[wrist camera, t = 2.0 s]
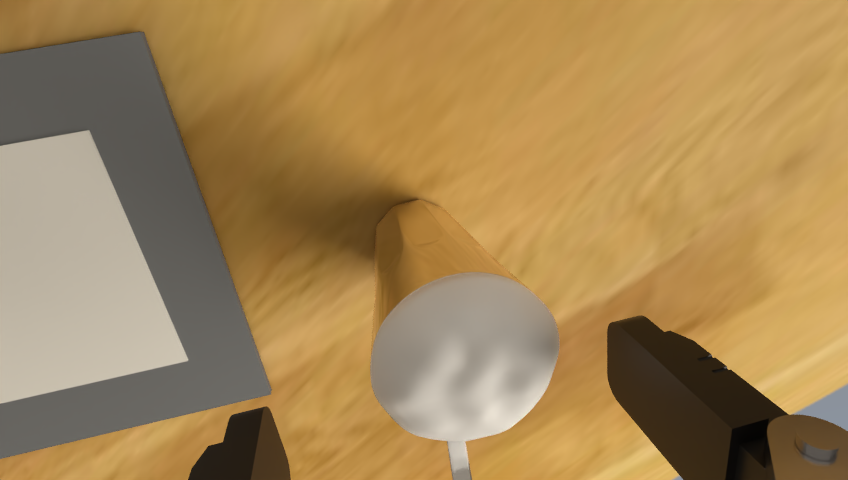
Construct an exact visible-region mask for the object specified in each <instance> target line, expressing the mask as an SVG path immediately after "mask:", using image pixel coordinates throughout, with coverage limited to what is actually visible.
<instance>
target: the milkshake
mask: <svg viewBox="0 0 848 480" xmlns="http://www.w3.org/2000/svg"><path fill="white" fill-rule="evenodd" d="M374 265H375V302H374V312H373V329H372V348H371V366H370V373H371V383H372V388H373V391H374V394H375V396H376V398H377V400H378V402H379V403H380V404H381V406H382V407H383V408H384V409H385V410H386V411H387V413H388V414H389V415H390V416H391V417H392V418H393V419H394V420H395V422H396V423H398V424H399V425H400V426H401V427H402V428H403V429H405V430H406V431H408V432H410V433H412V434H414V435H417V436H420V437H424V438H429V439H435V440H443V441H447V444H448V451H449V458H450V464H451V471H452V478H453V480H472V476H471V470H470V465H469V459H468V453H467V448H466V442H465V441H469V440H474V439H478V438H482V437H486V436H490V435H495V434H498V433H501V432H503V431H506V430H507V429H509V428H511V427H512V426H513V425H515V424H516V423H517V422H518V421H520V420H521V419H522V418H523V417H524V416H525V415H526V414H527V413H529V411H530V410H531V409H532V408H533V407H534V406H535V405H536V404H537V402H538V401H539V400H540V398H541V397H542V395H543V394H544V392H545V391H546V389H547V387H548V384H549V382H550V379H551V376H552V374H553V371H554V368H555V364H556V361H557V357H558V353H559V333H558V329H557V325H556V322H555V320H554V318H553V316H552V314H551V312H550V311H549V309H548V308H547V307H546V305H545V304H544V303H543V302H542V301H541V300H540V299H539V298H538V297H537V296H536V295H535V294H534V293H533V292H532V291H531V290H530V289H528V288H527V287H526V286H525V285H524V284H523V283H522V282H521V281H519V280H518V279H517V278H516V277H515V276H514V275H513V274H512V273H510V272H509V271H508V270H507V269H506V268H505V267H504V266H503V265H501V264H500V263H499V262H498V261H497V260H496V259H495V258H494V257H493V256H491V255H490V254H489V253H488V252H487V251H486V250H485V249H484V248H483V247H482V246H481V245H480V244H479V243H478V242H477V241H476V240H475V239H474V238H473V237H472V236H471V235H470V234H469V233H468V232H467V231H466V230H465V229H464V228H463V227H462V226H461V225H460V224H459V223H458V222H457V221H456V220H455V219H454V218H453V217H452V216H451V215H450V214H449V213H448V212H447V211H446V210H445V209H444V208H441V207H439V206H436V205H434V204H431V203H428V202H426V201H423V200H421V199H418V200H414V201H411V202H407V203H403V204H399V205H395V206H393V207H392V208H391V210H390V211H389V212H388V213H387V214H386V215H385V216H384V218H383V219H382V220H381V221H380V222H379V223H378V224H377V226H376V238H375V250H374Z"/></svg>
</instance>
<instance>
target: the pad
mask: <svg viewBox="0 0 848 480" xmlns="http://www.w3.org/2000/svg"><path fill="white" fill-rule="evenodd" d="M270 394H271V387H270V384H269V381H268V378H267V376H266V373H265V370H264V367H263V364H262V362H261V359H260V356H259V353H258V350H257V348H256V345H255V342H254V339H253V336H252V334H251V331H250V328H249V325H248V322H247V320H246V317H245V314H244V311H243V308H242V306H241V303H240V300H239V297H238V294H237V292H236V289H235V286H234V283H233V280H232V278H231V275H230V272H229V269H228V267H227V264H226V261H225V258H224V255H223V253H222V250H221V247H220V244H219V241H218V239H217V236H216V233H215V230H214V227H213V225H212V222H211V219H210V216H209V213H208V211H207V208H206V205H205V202H204V199H203V197H202V194H201V191H200V188H199V185H198V183H197V180H196V177H195V174H194V171H193V169H192V166H191V163H190V160H189V157H188V155H187V152H186V149H185V146H184V143H183V141H182V138H181V135H180V132H179V129H178V127H177V124H176V121H175V118H174V115H173V113H172V110H171V107H170V104H169V101H168V99H167V96H166V93H165V90H164V87H163V85H162V82H161V79H160V76H159V74H158V71H157V68H156V65H155V62H154V60H153V57H152V54H151V51H150V48H149V46H148V43H147V40H146V37H145V34H144V32H135V33H129V34H123V35H116V36H110V37H104V38H98V39H91V40H85V41H79V42H73V43H66V44H60V45H54V46H48V47H42V48H35V49H29V50H23V51H17V52H10V53H4V54H0V459H1V458H6V457H10V456H14V455H18V454H22V453H27V452H31V451H35V450H39V449H43V448H48V447H52V446H56V445H60V444H64V443H69V442H73V441H77V440H81V439H85V438H90V437H94V436H98V435H102V434H106V433H111V432H115V431H119V430H123V429H127V428H132V427H136V426H140V425H144V424H149V423H153V422H157V421H161V420H165V419H170V418H174V417H178V416H182V415H186V414H191V413H195V412H199V411H203V410H207V409H212V408H216V407H220V406H224V405H228V404H233V403H237V402H241V401H245V400H249V399H254V398H258V397H262V396H266V395H270Z"/></svg>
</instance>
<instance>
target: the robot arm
mask: <svg viewBox="0 0 848 480" xmlns="http://www.w3.org/2000/svg"><path fill="white" fill-rule="evenodd" d="M607 374H608V381H609V385H610V388H611V390H612V393H613V395H614V396H615V398H616V400H617V401H618V402H619V404H620V405H621V406H622V407H623V408H624V410H625V411H626V412H627V413H628V414H629V415H630V417H631V418H632V419H633V420H634V421H635V423H636V424H637V425H638V426H639V427H640V429H641V430H642V431H643V432H644V433H645V435H646V436H647V437H648V438H649V439H650V440H651V442H652V443H653V444H654V445H655V446H656V448H657V449H658V450H659V451H660V452H661V454H662V455H663V456H664V457H665V458H666V459H667V461H668V462H669V463H670V464H671V465H672V467H673V468H674V469H675V470H676V471H677V473H678V474H679V475H680V476H681V477H682V478H683V480H848V431H846V430H844V429H843V428H841V427H839V426H837V425H835V424H833V423H830V422H828V421H825V420H822V419H819V418H816V417H811V416H806V415H788V414H787V413H786V412H785V411H783V410H782V409H781V408H779V407H778V406H777V405H776V404H774V403H773V402H772V401H770V400H769V399H768V398H767V397H765V396H764V395H763V394H761V393H760V392H759V391H758V390H756V389H755V388H754V387H752V386H751V385H750V384H749V383H747V382H746V381H745V380H743V379H742V378H741V377H740V376H738V375H737V374H736V373H734V372H733V371H732V370H728V369H727V366H725V365H724V364H723V363H722V362H720V361H719V360H718V359H716V358H713V357H712V355H711V354H710V353H709V352H707V351H706V350H705V349H704V348H702V347H701V346H700V345H698V344H697V343H696V342H694V341H693V340H691V339H688V338H686V337H684V336H681V335H679V334H677V333H674V332H672V331H667V332H663V331H662V330H661V329H660V328H659V327H657V326H656V325H655V324H654V323H653V322H651V321H650V320H649V319H648V318H646V317H644V316H636V317H632V318H628V319H624V320H620V321H616V322H612V323H610V324H609V326H608V332H607ZM188 480H291V479H290V469H289V464H288V459H287V456H286V453H285V450H284V447H283V444H282V442H281V439H280V436H279V433H278V430H277V427H276V425H275V422H274V419H273V416H272V413H271V411H270V409H269V408H268V407H262V408H258V409H254V410H250V411H246V412H242V413H238V414H234V415H232V416H231V417H230V419H229V422H228V426H227V429H226V433H225V437H224V441H223V442H222V443H218V444H214V445H211V446H208V447H207V449H206V450H205V451H204V453H203V454H202V455H201V457H200V458H199V460H198V461H197V462H196V464H195V465H194V466H193V468H192V470H191V473H190V476H189V479H188Z"/></svg>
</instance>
